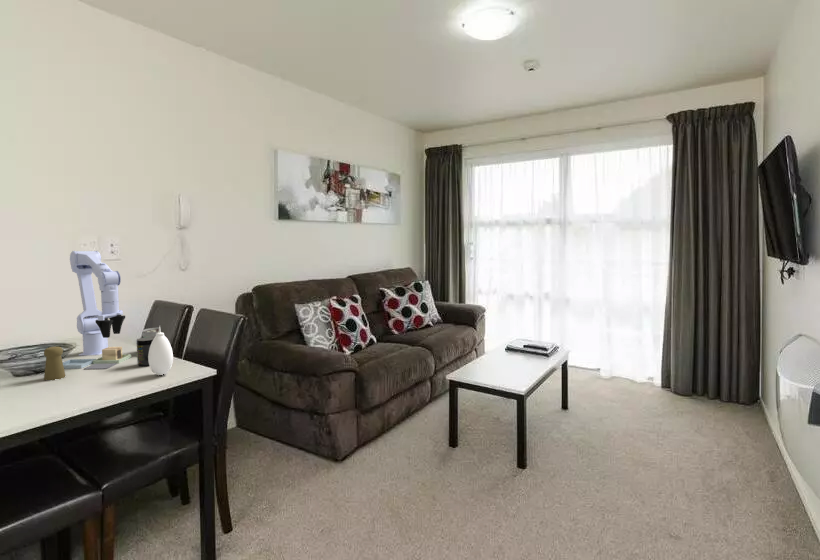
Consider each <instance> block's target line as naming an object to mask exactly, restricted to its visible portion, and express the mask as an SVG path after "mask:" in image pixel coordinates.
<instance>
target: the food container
mask: <svg viewBox="0 0 820 560" xmlns="http://www.w3.org/2000/svg"><path fill="white" fill-rule="evenodd" d="M156 333H159V327H151V328H145V329H143V330H142V334H141V337H142V338H146V337H155V336H156Z"/></svg>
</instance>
